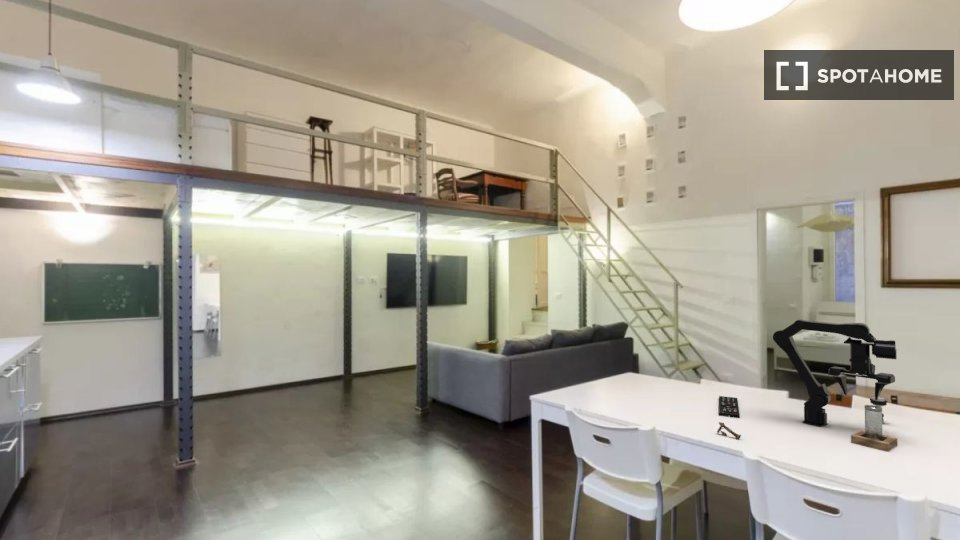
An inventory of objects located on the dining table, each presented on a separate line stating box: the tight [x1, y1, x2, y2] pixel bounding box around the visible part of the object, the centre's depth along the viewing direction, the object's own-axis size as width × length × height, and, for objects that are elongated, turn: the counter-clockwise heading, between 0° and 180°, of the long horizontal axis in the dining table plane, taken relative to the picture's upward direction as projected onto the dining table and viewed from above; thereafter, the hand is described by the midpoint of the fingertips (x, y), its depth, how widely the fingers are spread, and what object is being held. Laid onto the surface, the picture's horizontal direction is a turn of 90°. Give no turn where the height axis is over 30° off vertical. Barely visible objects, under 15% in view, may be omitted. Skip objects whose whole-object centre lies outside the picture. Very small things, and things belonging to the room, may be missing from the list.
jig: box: [850, 429, 899, 452], centre depth 157 cm, size 10×10×2 cm
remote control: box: [718, 395, 741, 419], centre depth 202 cm, size 8×32×2 cm, turn 152°
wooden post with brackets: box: [716, 421, 742, 440], centre depth 166 cm, size 2×8×4 cm, turn 34°
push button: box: [869, 396, 888, 424], centre depth 180 cm, size 7×5×10 cm
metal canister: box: [864, 404, 884, 441], centre depth 157 cm, size 5×5×13 cm
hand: (860, 397), depth 170 cm, fingers open, 9 cm apart
